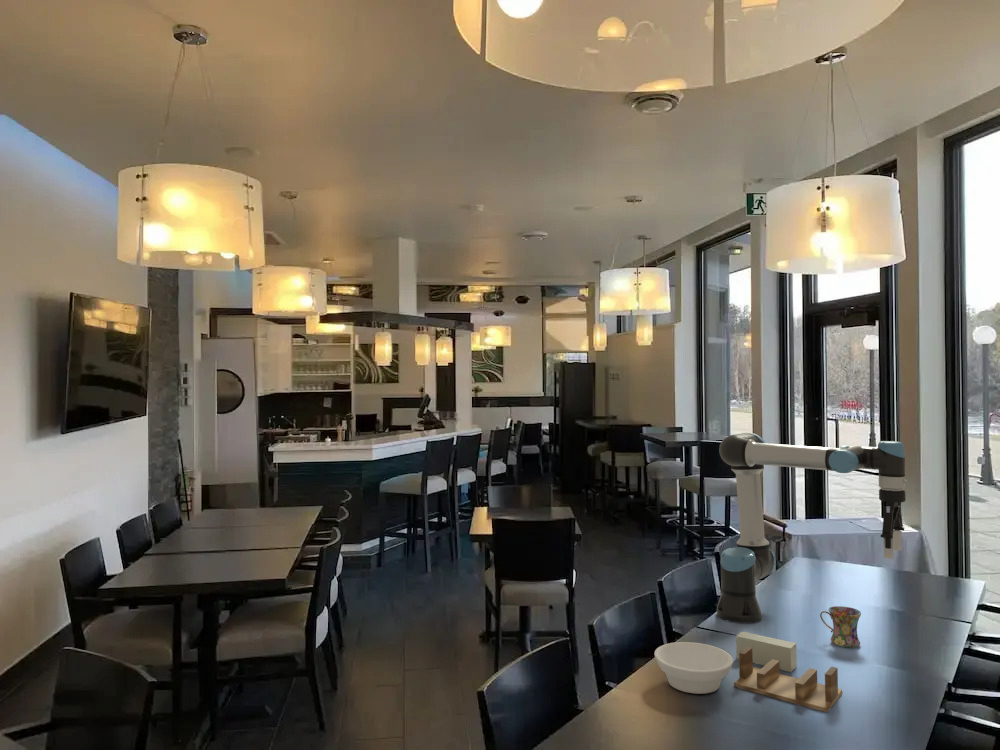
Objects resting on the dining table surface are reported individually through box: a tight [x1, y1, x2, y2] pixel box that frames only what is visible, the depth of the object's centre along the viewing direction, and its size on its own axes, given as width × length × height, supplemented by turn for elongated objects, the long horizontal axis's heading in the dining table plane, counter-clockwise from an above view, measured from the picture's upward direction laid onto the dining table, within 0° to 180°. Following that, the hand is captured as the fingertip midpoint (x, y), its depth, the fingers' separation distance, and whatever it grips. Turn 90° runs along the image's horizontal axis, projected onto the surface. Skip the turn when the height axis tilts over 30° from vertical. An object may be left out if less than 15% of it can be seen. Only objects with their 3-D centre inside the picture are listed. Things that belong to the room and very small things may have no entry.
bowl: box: [654, 641, 734, 694], centre depth 190 cm, size 21×21×8 cm
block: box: [735, 631, 798, 673], centre depth 205 cm, size 16×5×7 cm, turn 50°
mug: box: [819, 605, 862, 648], centre depth 219 cm, size 12×9×11 cm
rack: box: [733, 647, 843, 713], centre depth 186 cm, size 24×14×8 cm, turn 49°
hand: (893, 554), depth 223 cm, fingers open, 13 cm apart
